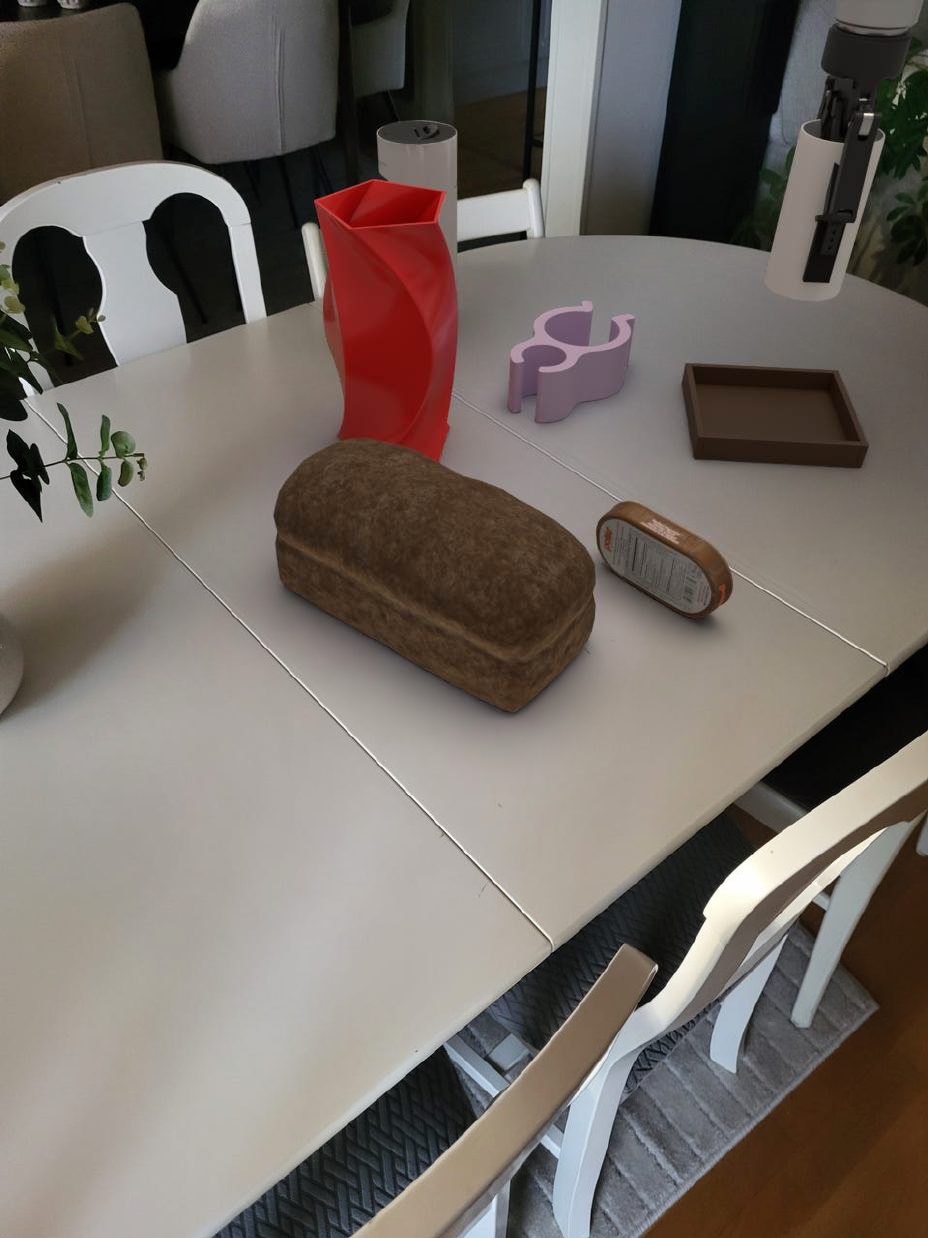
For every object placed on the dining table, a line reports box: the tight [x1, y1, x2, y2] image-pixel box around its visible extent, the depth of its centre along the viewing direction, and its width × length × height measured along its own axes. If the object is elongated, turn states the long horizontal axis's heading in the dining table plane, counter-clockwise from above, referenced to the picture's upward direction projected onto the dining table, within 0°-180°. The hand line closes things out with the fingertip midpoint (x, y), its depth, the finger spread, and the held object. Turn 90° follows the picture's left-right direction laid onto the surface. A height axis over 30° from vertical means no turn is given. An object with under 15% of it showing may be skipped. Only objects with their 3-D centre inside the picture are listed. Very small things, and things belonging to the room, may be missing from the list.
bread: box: [272, 438, 597, 713], centre depth 87 cm, size 15×32×16 cm, turn 53°
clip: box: [507, 300, 636, 424], centre depth 122 cm, size 20×12×7 cm, turn 144°
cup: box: [763, 119, 886, 302], centre depth 100 cm, size 8×8×16 cm
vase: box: [313, 178, 459, 463], centre depth 104 cm, size 15×14×28 cm
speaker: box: [376, 119, 459, 307], centre depth 128 cm, size 11×10×26 cm
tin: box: [595, 500, 734, 619], centre depth 92 cm, size 15×3×8 cm, turn 44°
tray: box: [681, 362, 870, 469], centre depth 117 cm, size 20×18×3 cm
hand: (808, 263), depth 104 cm, fingers closed on cup, 8 cm apart
